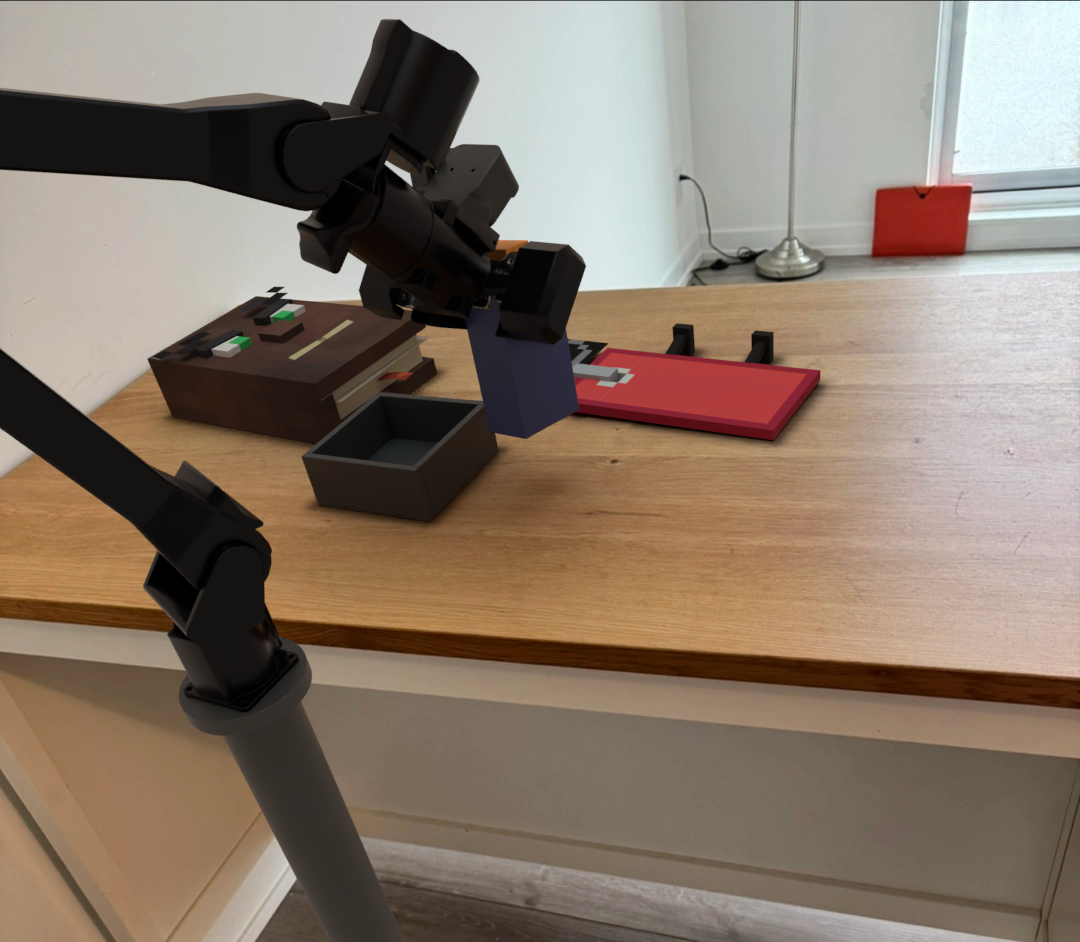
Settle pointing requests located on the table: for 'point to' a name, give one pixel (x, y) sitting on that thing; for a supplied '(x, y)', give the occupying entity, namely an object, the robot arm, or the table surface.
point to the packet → (519, 372)
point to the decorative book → (290, 366)
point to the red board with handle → (691, 386)
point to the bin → (401, 455)
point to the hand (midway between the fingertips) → (528, 329)
